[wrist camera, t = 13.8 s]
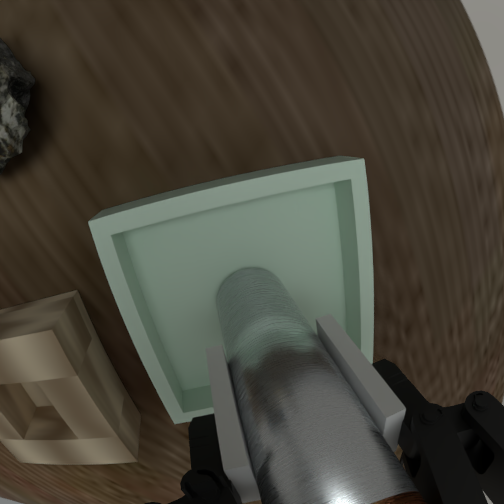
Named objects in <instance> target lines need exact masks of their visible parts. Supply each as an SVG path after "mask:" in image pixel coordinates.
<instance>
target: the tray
mask: <svg viewBox="0 0 504 504" xmlns="http://www.w3.org/2000/svg"><path fill="white" fill-rule="evenodd" d="M88 223H89V227H90V230H91V233H92V236H93V239H94V242H95V245H96V248H97V251H98V254H99V257H100V260H101V263H102V266H103V269H104V271H105V274H106V277H107V280H108V282H109V285H110V288H111V290H112V293H113V295H114V298H115V301H116V303H117V306H118V308H119V311H120V313H121V315H122V318H123V320H124V323H125V325H126V327H127V330H128V332H129V334H130V336H131V339H132V341H133V343H134V345H135V348H136V350H137V352H138V354H139V356H140V358H141V360H142V363H143V365H144V367H145V369H146V371H147V373H148V375H149V377H150V379H151V381H152V383H153V385H154V387H155V389H156V391H157V393H158V395H159V397H160V398H161V400H162V402H163V404H164V406H165V408H166V410H167V411H168V413H169V415H170V417H171V419H172V420H173V422H174V424H178V423H184V422H189V421H192V418H193V417H198V416H203V415H208V414H213V413H214V407H213V401H212V393H211V386H210V379H209V371H208V363H207V355H206V348H209V347H213V346H218V345H222V346H223V349H224V353H225V356H226V352H225V347H224V342H223V337H222V332H221V327H220V322H219V317H218V312H217V307H216V297H217V293H218V291H219V289H220V287H221V285H222V284H223V283H224V281H225V280H226V279H227V278H229V277H230V276H231V275H233V274H234V273H236V272H238V271H241V270H244V269H249V268H260V269H264V270H267V271H270V272H272V273H273V274H275V275H276V276H277V277H278V278H279V279H280V280H281V282H282V283H283V285H284V286H285V288H286V289H287V291H288V292H289V294H290V295H291V297H292V298H293V300H294V301H295V303H296V304H297V306H298V307H299V309H300V310H301V312H302V313H303V315H304V316H305V318H306V319H307V321H308V322H309V324H310V325H311V327H312V328H313V330H314V332H315V333H316V335H317V327H316V318H319V317H322V316H325V315H328V314H331V315H332V316H333V317H334V319H335V320H336V321H337V322H338V323H339V325H340V326H341V327H342V328H343V330H344V331H345V332H346V333H347V335H348V336H349V337H350V338H351V340H352V341H353V342H354V343H355V344H356V346H357V347H358V348H359V349H360V351H361V352H362V353H363V354H364V356H365V357H366V358H367V359H368V361H369V362H370V363H371V364H373V336H374V283H373V254H372V236H371V221H370V209H369V198H368V188H367V178H366V170H365V161H364V159H363V158H356V157H347V156H336V157H329V158H323V159H317V160H312V161H306V162H300V163H295V164H289V165H284V166H279V167H274V168H269V169H264V170H259V171H254V172H249V173H245V174H240V175H235V176H231V177H226V178H222V179H217V180H213V181H209V182H205V183H200V184H196V185H192V186H188V187H184V188H180V189H176V190H172V191H168V192H165V193H161V194H157V195H153V196H150V197H146V198H142V199H139V200H135V201H131V202H128V203H124V204H121V205H118V206H114V207H111V208H107V209H104V210H102V211H101V212H99V213H98V214H97V215H96V216H94V217H93V218H92V219H91V220H89V221H88ZM226 359H227V356H226ZM227 362H228V361H227Z"/></svg>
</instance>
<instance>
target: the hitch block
mask: <svg viewBox="0 0 504 504" xmlns="http://www.w3.org/2000/svg"><path fill="white" fill-rule="evenodd" d="M140 422H141V414H140V413H139V411H138V409H137V408H136V406H135V404H134V403H133V401H132V399H131V398H130V396H129V394H128V392H127V391H126V389H125V387H124V385H123V384H122V382H121V380H120V378H119V376H118V374H117V373H116V371H115V369H114V367H113V365H112V363H111V361H110V359H109V357H108V355H107V353H106V351H105V349H104V347H103V345H102V343H101V341H100V339H99V337H98V335H97V333H96V331H95V329H94V327H93V324H92V322H91V320H90V318H89V316H88V313H87V311H86V309H85V306H84V304H83V302H82V299H81V297H80V295H79V292H78V290H75V291H71V292H67V293H63V294H60V295H56V296H52V297H48V298H44V299H40V300H36V301H32V302H28V303H24V304H21V305H17V306H13V307H9V308H5V309H1V310H0V441H1V442H2V443H3V444H4V445H5V447H6V448H7V449H8V450H9V451H10V452H11V453H12V454H13V455H14V456H15V457H16V458H17V459H18V460H19V461H20V462H24V463H38V464H63V465H88V464H114V463H129V462H138V448H139V434H140Z"/></svg>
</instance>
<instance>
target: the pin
mask: <svg viewBox="0 0 504 504" xmlns="http://www.w3.org/2000/svg"><path fill="white" fill-rule="evenodd" d="M216 307H217V312H218V317H219V322H220V327H221V332H222V337H223V342H224V347H225V352H226V356H227V361H228V366H229V370H230V375H231V379H232V384H233V388H234V393H235V397H236V402H237V406H238V410H239V415H240V419H241V423H242V427H243V431H244V436H245V440H246V444H247V448H248V452H249V456H250V460H251V464H252V468H253V471H254V475H255V479H256V483H257V487H258V490H259V494H260V498H261V501H262V504H426V502H425V500H424V499H423V497H422V496H421V494H420V493H419V491H418V489H417V488H416V486H415V485H414V483H413V482H412V480H411V479H410V477H409V475H408V474H407V472H406V471H405V469H404V468H403V466H402V465H401V463H400V462H399V460H398V458H397V457H396V455H395V454H394V452H393V451H392V449H391V448H390V446H389V444H388V443H387V441H386V440H385V438H384V437H383V435H382V434H381V432H380V431H379V429H378V428H377V426H376V424H375V423H374V421H373V420H372V418H371V417H370V415H369V414H368V412H367V411H366V409H365V408H364V406H363V405H362V403H361V401H360V400H359V398H358V397H357V395H356V394H355V392H354V391H353V389H352V388H351V386H350V385H349V383H348V382H347V380H346V379H345V377H344V376H343V374H342V372H341V371H340V369H339V368H338V366H337V365H336V363H335V362H334V360H333V359H332V357H331V356H330V354H329V353H328V351H327V350H326V348H325V347H324V345H323V344H322V342H321V341H320V339H319V338H318V336H317V335H316V333H315V332H314V330H313V328H312V327H311V325H310V324H309V322H308V321H307V319H306V318H305V316H304V315H303V313H302V312H301V310H300V309H299V307H298V306H297V304H296V303H295V301H294V300H293V298H292V297H291V295H290V294H289V292H288V291H287V289H286V288H285V286H284V285H283V283H282V282H281V280H280V279H279V278H278V277H277V276H276V275H275V274H273V273H272V272H270V271H267V270H264V269H260V268H249V269H244V270H241V271H238V272H236V273H234V274H233V275H231V276H230V277H229V278H227V279H226V280H225V281H224V283H223V284H222V285H221V287H220V289H219V291H218V293H217V297H216Z"/></svg>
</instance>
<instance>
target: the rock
mask: <svg viewBox="0 0 504 504" xmlns="http://www.w3.org/2000/svg"><path fill="white" fill-rule="evenodd" d="M34 84H35V78H34V77H33V76H32V75H31V73H30V71H26V70H25V69H24V68H23V67H22V66H21V64H20V62H19V61H17V60H16V58H15V57H14V55H13V53H12V52H11V50H10V49H9V48H8V47H7V45H6V44H5V43H4V42H3V41H2V39H1V38H0V174H2V172H3V171H4V168H5V166H6V164H7V163H8V162H9V160H10V159H11V158H12V157H14V156H16V155H18V154H20V153H21V152H22V146H23V139H24V138H25V137H26V136H27V134H28V132H29V131H30V130H31V129H30V128H29V127H28V126H27V125H28V120H27V119H26V118H25V111H26V109H27V107H28V104H29V100H30V89H31V88H32V86H33V85H34Z"/></svg>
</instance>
